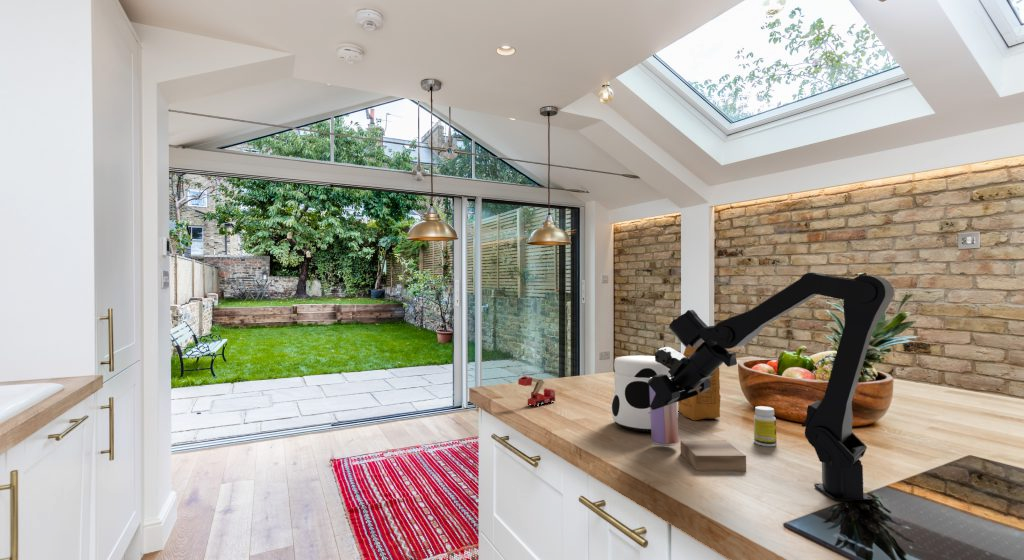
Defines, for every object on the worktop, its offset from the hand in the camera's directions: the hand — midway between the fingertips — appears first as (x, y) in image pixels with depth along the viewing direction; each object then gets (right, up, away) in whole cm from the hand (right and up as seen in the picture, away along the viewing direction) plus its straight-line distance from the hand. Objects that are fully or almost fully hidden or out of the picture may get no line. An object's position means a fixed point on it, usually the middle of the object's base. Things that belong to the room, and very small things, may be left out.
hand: (658, 406), depth 113 cm
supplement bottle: (+26, -9, +1) cm, 27 cm away
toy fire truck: (-26, -11, +40) cm, 49 cm away
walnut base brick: (+8, -9, -11) cm, 16 cm away
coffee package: (+19, -10, +26) cm, 34 cm away
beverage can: (+1, -8, -2) cm, 9 cm away
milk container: (+1, -10, +15) cm, 18 cm away
